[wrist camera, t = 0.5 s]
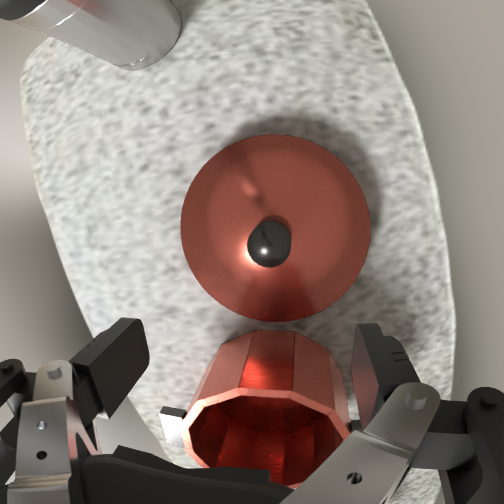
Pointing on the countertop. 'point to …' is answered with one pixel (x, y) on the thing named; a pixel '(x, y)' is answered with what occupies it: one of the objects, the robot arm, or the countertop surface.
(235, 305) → the pot lid
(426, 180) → the countertop surface
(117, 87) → the countertop surface
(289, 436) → the pot
